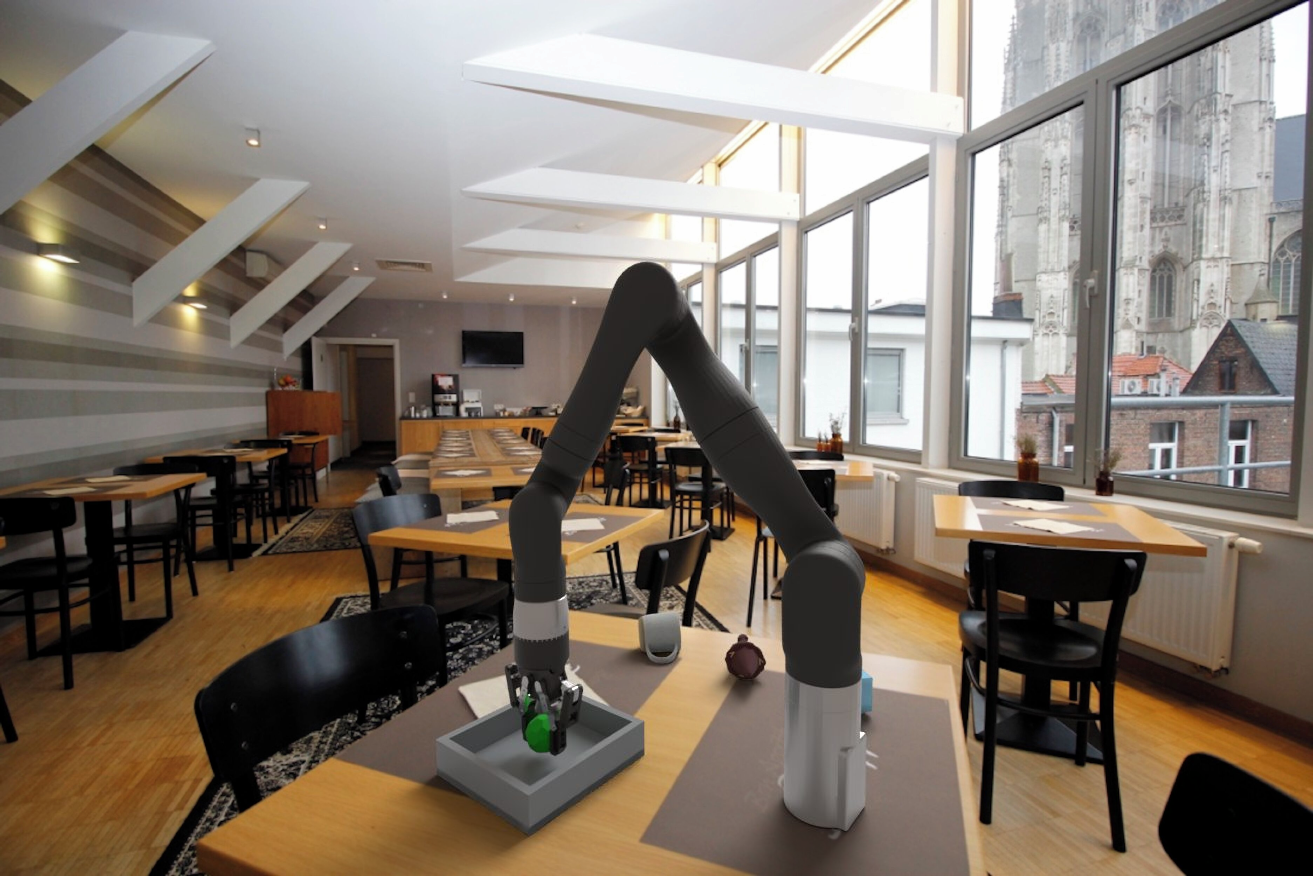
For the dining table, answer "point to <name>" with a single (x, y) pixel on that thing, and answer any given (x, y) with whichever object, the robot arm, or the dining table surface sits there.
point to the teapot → (866, 692)
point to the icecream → (744, 659)
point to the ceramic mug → (660, 635)
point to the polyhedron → (539, 734)
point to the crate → (537, 762)
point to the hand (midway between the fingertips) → (543, 745)
